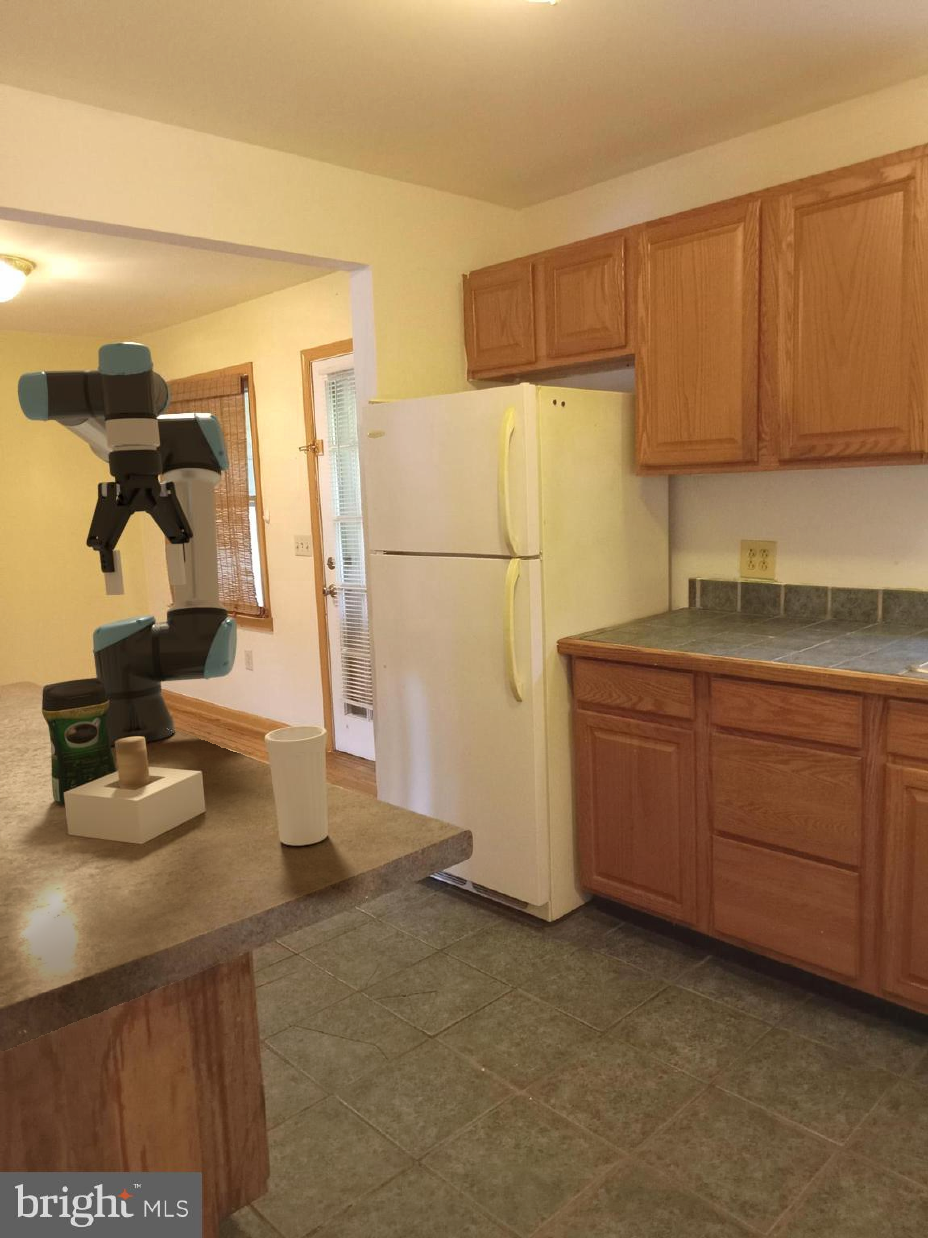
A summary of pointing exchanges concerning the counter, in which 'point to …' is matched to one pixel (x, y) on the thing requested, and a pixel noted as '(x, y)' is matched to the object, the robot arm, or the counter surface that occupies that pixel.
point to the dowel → (132, 762)
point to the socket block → (134, 806)
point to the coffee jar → (77, 733)
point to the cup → (299, 782)
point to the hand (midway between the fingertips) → (148, 589)
